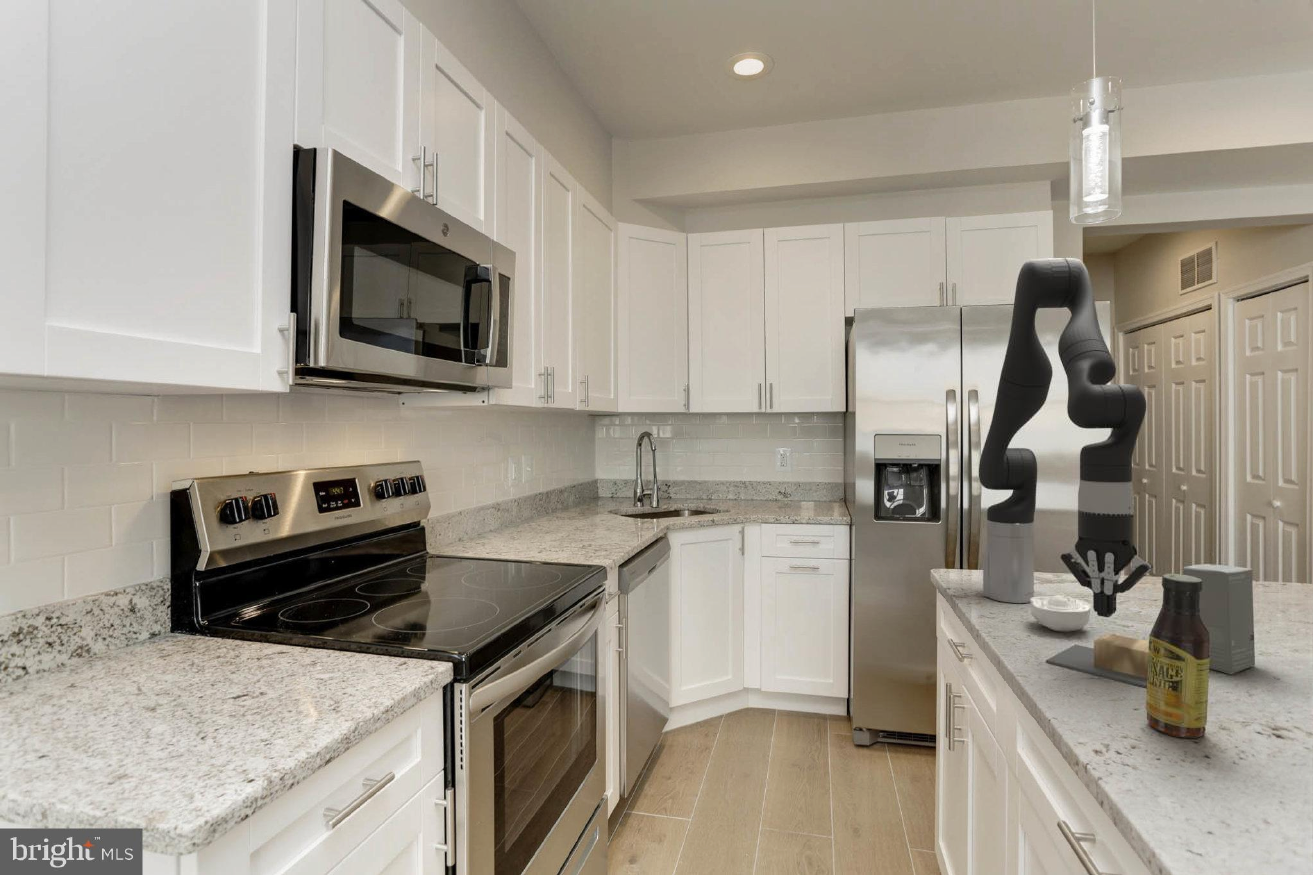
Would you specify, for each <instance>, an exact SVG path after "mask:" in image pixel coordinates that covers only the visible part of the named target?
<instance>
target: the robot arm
mask: <svg viewBox="0 0 1313 875" xmlns="http://www.w3.org/2000/svg"><path fill="white" fill-rule="evenodd" d="M1016 280H1017V281H1016V286H1015V294H1014V301H1013V307H1012V308H1013V310H1012V318H1011V326H1010V333H1009V337H1008V342H1007V345H1006V346H1007V347H1006V352H1005V356H1004V360H1003V364H1002V368H1001V373H1000V377H999V381H998V386H997V391H996V392H997V393H996V398H995V404H994V409H993V413H992V418H991V423H990V426H989V430H988V433H987V436H986V439H985V441H984V445H983V448H982V451H981V455H980V458H979V459H980V460H979V465H978V479H979V482H980V484H981V486H982V487H983V488H985V489H986V490H991V491H992V490H993V491H1012V493H1011V495H1010V496H1009V497H1008V498H1007V499H1005V500H1003V501H1001V502H998V503H995V504H993V505H990V506H988V508H987V511H986V542H987V543H986V545H987V546H986V549H987V550H986V552H985V553H983V555H982V578H983V579H982V590H983V591H982V595H983V596H982V597H986V598H989V599H992V600H995V601H998V602H999V601H1000V602H1004V603H1013V604H1024V603H1025V604H1027V603H1031V602H1030V599H1031V598H1033V597H1035V551H1034V550H1035V522H1034V521H1035V511H1036V503H1037V485H1038V462H1037V458H1036V455H1035V452H1034V451H1033V450H1032V449H1030V448H1025V447H1009V445H1010V443H1011V441H1012V440H1013V438H1014V437H1015V435H1016V434H1017V433H1018V432H1019V431H1020V430H1021V428H1022V427H1024V426H1025V425H1026V424H1027V423H1028V422H1029V421H1030V420H1031V419H1033V417H1034V416H1036V414H1037V413H1038V412H1039V411H1040V410H1041V409H1042V408H1043V406H1044V405H1045V403H1046V400H1047V399H1048V395H1049V391H1050V386H1051V383H1052V378H1053V375H1054V374H1053V372H1054V371H1053V367H1052V366H1053V365H1052V363H1051V360H1050V358H1049V357H1048V356H1049V355H1047V352H1046V351H1045V348H1044V346H1043V345H1042V343H1041V341H1040V339H1039V337H1038V334H1037V331H1036V316H1037V315H1036V314H1037V311H1038V309H1064V308H1066V309H1068V311H1069V312H1070V313H1071V315H1070V318H1069V320H1068V322H1067V323H1066V325H1065V328H1064V329H1063V331H1062V332H1061V333H1060V336H1059V338H1058V339H1059V340H1058V344H1057V351H1058V356H1059V359H1060V361H1061V365H1062V367H1063V370H1064V372H1065V375H1066V378H1067V395H1068V396H1067V406H1066V410H1067V411H1066V412H1067V417H1068V418H1069V420H1070V421H1071V423H1073V424H1074V425H1076V427H1079V428H1082V429H1087V430H1088V429H1093V430H1094V429H1112V430H1111V433H1110V434H1109V436H1108V437H1107V439H1105V440H1103V441H1099V442H1096V443H1095V442H1094V443H1090V444H1086V445H1083V447H1081V449H1080V453H1079V485H1078V490H1077V491H1078V492H1077V540H1076V543H1075V544H1074V549H1072V550H1070V551H1068V552H1065V553H1062V554H1061V555H1060V560H1061V561H1062V562H1063V563H1064V565H1065V566H1066V567H1067V569H1068V570H1069V572H1071V574H1072V575H1073V577H1074V578H1075V579H1076V581H1077V582H1078V583H1079V585H1080V586H1082V587H1083V588H1087V589H1090V590H1091V591H1092V593H1093V594H1092V595H1093V597H1092V599H1093V600H1092V607H1093V611H1094V612H1096V614H1097V617H1103V618H1109V617H1110V618H1111V617H1112V616H1113V615H1114V614H1115V613H1116V612H1117V595H1118V594H1123V593H1125V592H1128V591H1130V590H1132V588H1133V587H1135V585H1137V584H1138V583H1139V582H1140V581H1142V580H1141V579H1143V578H1144V577H1145V576H1147V575H1148V573H1149V572H1150V571H1152V570H1153V568H1154V566H1153V564H1152V563H1151V562H1148V561H1147V562H1146V561H1144V560H1143V559H1142V558H1141V557H1140V556H1138V551H1137V548H1136V547H1135V545H1134V539H1135V538H1134V536H1135V535H1134V534H1135V533H1134V532H1135V530H1134V529H1135V528H1134V527H1135V525H1134V524H1135V523H1134V522H1135V521H1134V520H1135V518H1134V517H1135V516H1134V515H1135V508H1136V507H1135V498H1134V489H1133V482H1132V480H1133V454H1134V451H1135V446H1136V443H1137V439H1138V437H1139V433H1140V431H1141V427H1142V425H1143V422H1144V419H1145V415H1146V412H1147V401H1146V397H1145V395H1144V393H1143V391H1142V390H1141V389H1140V388H1139V387H1138V386H1136V385H1133V384H1127V383H1125V384H1123V383H1122V384H1120V383H1119V384H1109V383H1111V381H1112V380H1114V378H1115V377H1116V372H1117V367H1116V363H1115V361H1114V359H1113V357H1112V354H1111V352H1110V350H1109V347H1108V346H1107V344H1106V341H1105V339H1104V335H1103V333H1102V331H1101V328H1100V323H1099V319H1098V313H1097V306H1096V301H1095V296H1094V292H1093V288H1092V283H1091V279H1090V275H1089V271H1088V269H1087V267H1086V265H1085V263H1084V262H1083V261H1082V260H1081V259H1078V258H1075V257H1059V258H1058V257H1057V258H1055V257H1053V258H1031V259H1027V260H1026V261H1025V262H1024V263H1023V264H1022V266H1021V268H1020V271H1019V272H1018V276H1017V279H1016ZM1081 560H1082V561H1083V563H1084V564H1085V565H1086V567H1087V568H1088V570H1089V572H1088V570H1086V568H1085V567H1084V566H1083V564H1082V562H1081ZM1131 563H1132V565H1131V566H1130V570H1131V573H1130V574H1129V575H1128V576H1126V577H1125V579H1124V580H1122V581H1121V582H1119V581H1120V579H1121V572H1123V571H1124V570H1125V569H1126V567H1128V566H1129V564H1131Z"/></svg>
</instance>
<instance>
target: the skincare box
mask: <svg viewBox="0 0 1313 875" xmlns="http://www.w3.org/2000/svg"><path fill="white" fill-rule="evenodd" d="M1182 575H1188V576H1193V577H1196V578H1199V579H1201V580H1202V590H1201V592H1200V600H1199V609H1200V612H1199V614H1200V617H1201V620H1202V622H1203V624H1204V625H1205V627H1206V628H1207V630H1208V632H1209V637H1210V643H1209V656H1210V663H1209V669H1210V670H1215V671H1217V672H1222V673H1224V674H1228V675H1234V674H1235V673H1239V672H1240V671H1244V670H1246V669H1249V668H1252V667H1254V666H1256V651H1255V649H1256V648H1255V625H1254V624H1255V623H1254V622H1255V621H1254V590H1253V589H1254V587H1253V586H1254V585H1253V568H1248V567H1240V566H1232V565H1231V566H1230V565H1222V564H1215V563H1214V564H1213V563H1204V564H1193V565H1189V566H1184V567H1183V568H1182Z"/></svg>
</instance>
